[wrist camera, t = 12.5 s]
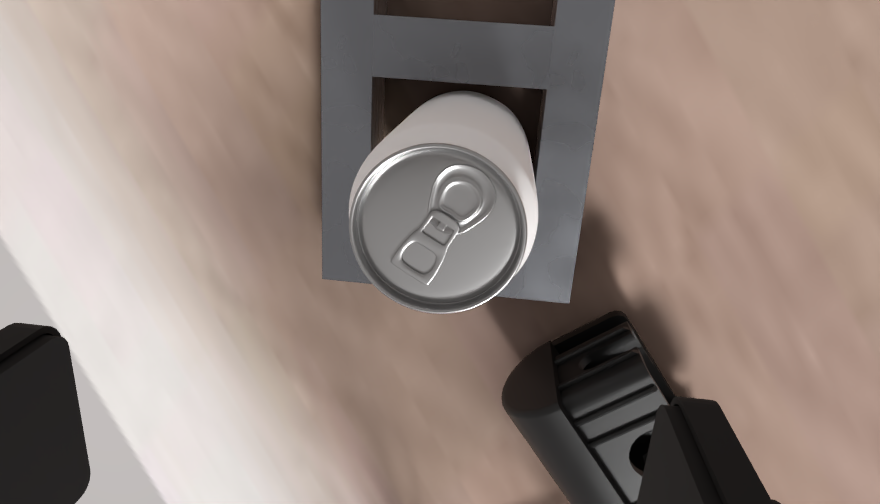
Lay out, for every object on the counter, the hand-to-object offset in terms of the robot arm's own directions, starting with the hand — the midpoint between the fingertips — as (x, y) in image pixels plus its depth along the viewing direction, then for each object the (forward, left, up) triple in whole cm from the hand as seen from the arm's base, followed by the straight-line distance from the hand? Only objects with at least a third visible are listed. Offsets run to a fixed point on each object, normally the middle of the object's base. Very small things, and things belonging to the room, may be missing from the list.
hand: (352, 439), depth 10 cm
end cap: (-9, +13, -22) cm, 27 cm away
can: (0, 0, -22) cm, 22 cm away
